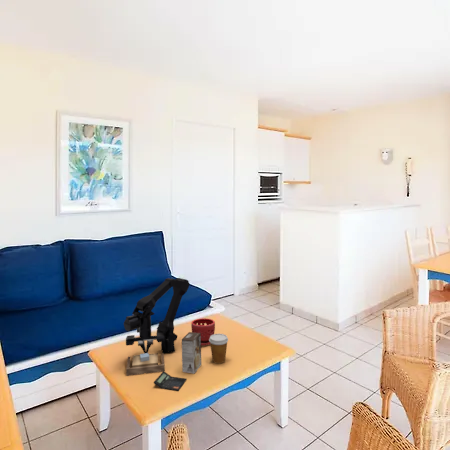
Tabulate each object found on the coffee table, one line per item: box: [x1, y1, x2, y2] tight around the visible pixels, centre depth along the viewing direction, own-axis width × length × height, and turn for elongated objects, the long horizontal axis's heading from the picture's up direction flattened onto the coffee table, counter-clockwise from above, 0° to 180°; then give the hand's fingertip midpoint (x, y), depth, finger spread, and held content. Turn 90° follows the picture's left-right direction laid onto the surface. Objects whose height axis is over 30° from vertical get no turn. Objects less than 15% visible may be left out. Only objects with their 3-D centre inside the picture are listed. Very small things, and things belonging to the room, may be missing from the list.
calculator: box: [153, 371, 187, 392], centre depth 155 cm, size 9×12×3 cm
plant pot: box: [190, 317, 216, 347], centre depth 197 cm, size 13×13×12 cm
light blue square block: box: [139, 352, 150, 362], centre depth 170 cm, size 4×4×2 cm
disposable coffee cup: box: [209, 333, 229, 364], centre depth 176 cm, size 10×10×12 cm
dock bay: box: [125, 352, 166, 377], centre depth 170 cm, size 17×13×3 cm
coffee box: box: [181, 331, 202, 374], centre depth 168 cm, size 9×6×16 cm
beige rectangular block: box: [131, 352, 159, 368], centre depth 171 cm, size 12×10×4 cm
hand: (146, 355), depth 177 cm, fingers closed
